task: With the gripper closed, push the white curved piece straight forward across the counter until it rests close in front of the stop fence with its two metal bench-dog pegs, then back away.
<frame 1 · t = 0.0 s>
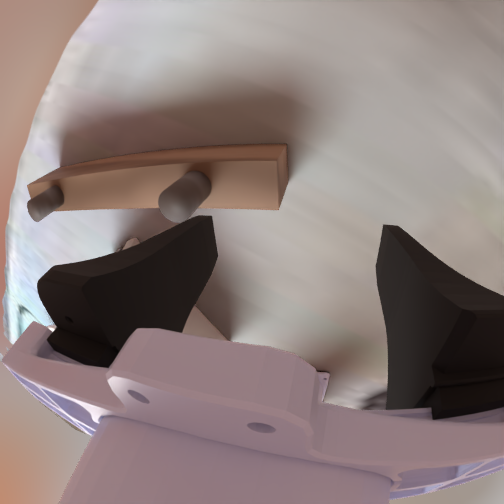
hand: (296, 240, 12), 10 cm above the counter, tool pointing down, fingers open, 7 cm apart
stop fence: (146, 168, 23), on the counter
white curved piece: (179, 295, 31), on the counter
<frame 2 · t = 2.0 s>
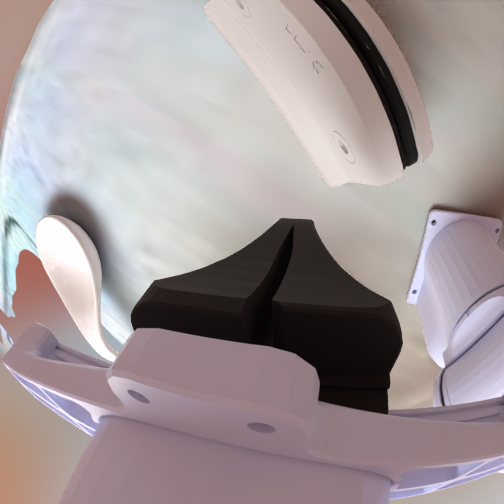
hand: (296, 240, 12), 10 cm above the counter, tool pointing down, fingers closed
white curved piece: (313, 66, 16), on the counter
spoon rest: (106, 281, 34), on the counter
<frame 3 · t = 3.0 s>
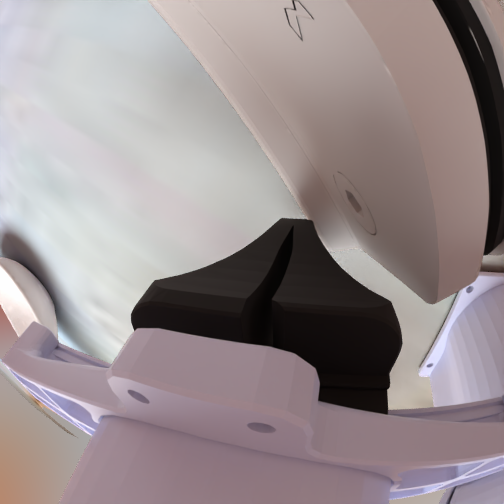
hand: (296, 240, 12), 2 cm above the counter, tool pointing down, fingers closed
white curved piece: (301, 48, 9), on the counter
spoon rest: (66, 326, 27), on the counter
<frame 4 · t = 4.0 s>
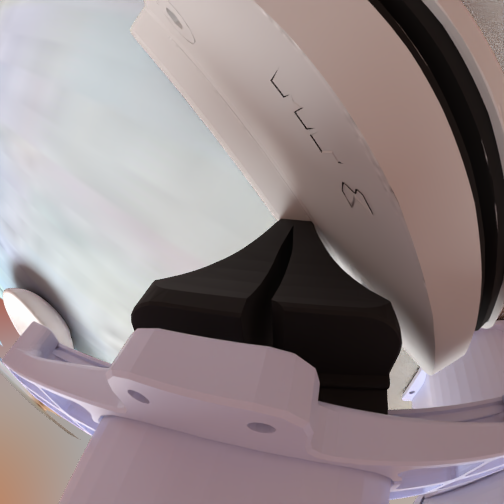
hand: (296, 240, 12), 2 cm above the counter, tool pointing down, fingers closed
white curved piece: (314, 120, 11), on the counter, touching gripper
spoon rest: (80, 348, 29), on the counter
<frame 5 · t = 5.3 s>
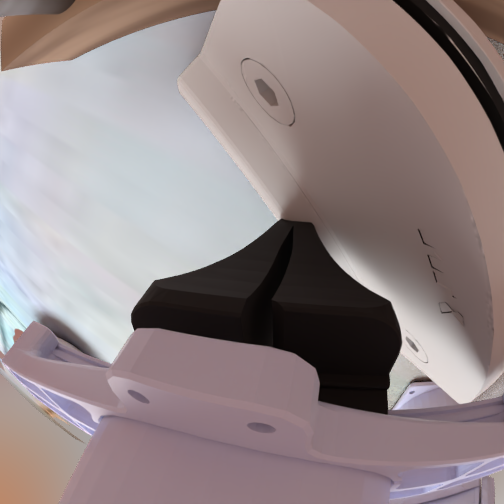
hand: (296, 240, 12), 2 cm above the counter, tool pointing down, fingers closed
white curved piece: (359, 187, 12), on the counter, touching gripper
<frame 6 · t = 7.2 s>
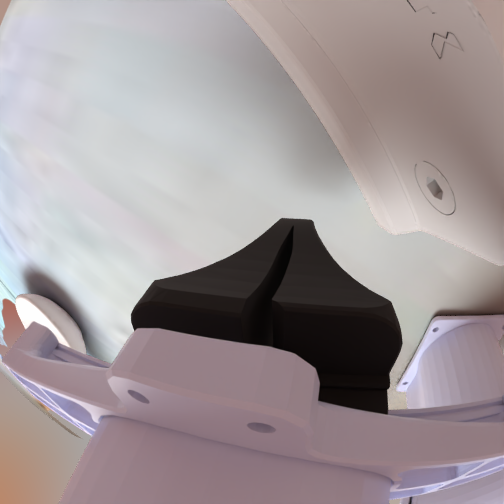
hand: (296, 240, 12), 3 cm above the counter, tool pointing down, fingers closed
white curved piece: (366, 51, 10), on the counter
spoon rest: (91, 349, 31), on the counter
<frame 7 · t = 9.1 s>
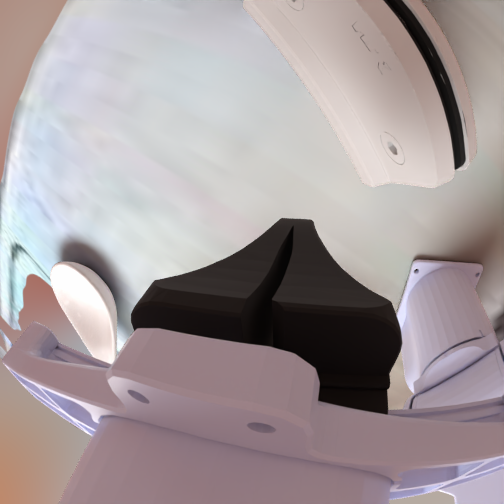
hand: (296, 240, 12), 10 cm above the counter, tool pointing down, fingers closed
white curved piece: (353, 65, 15), on the counter
spoon rest: (118, 316, 37), on the counter
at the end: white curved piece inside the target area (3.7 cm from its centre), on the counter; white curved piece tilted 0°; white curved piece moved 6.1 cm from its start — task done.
